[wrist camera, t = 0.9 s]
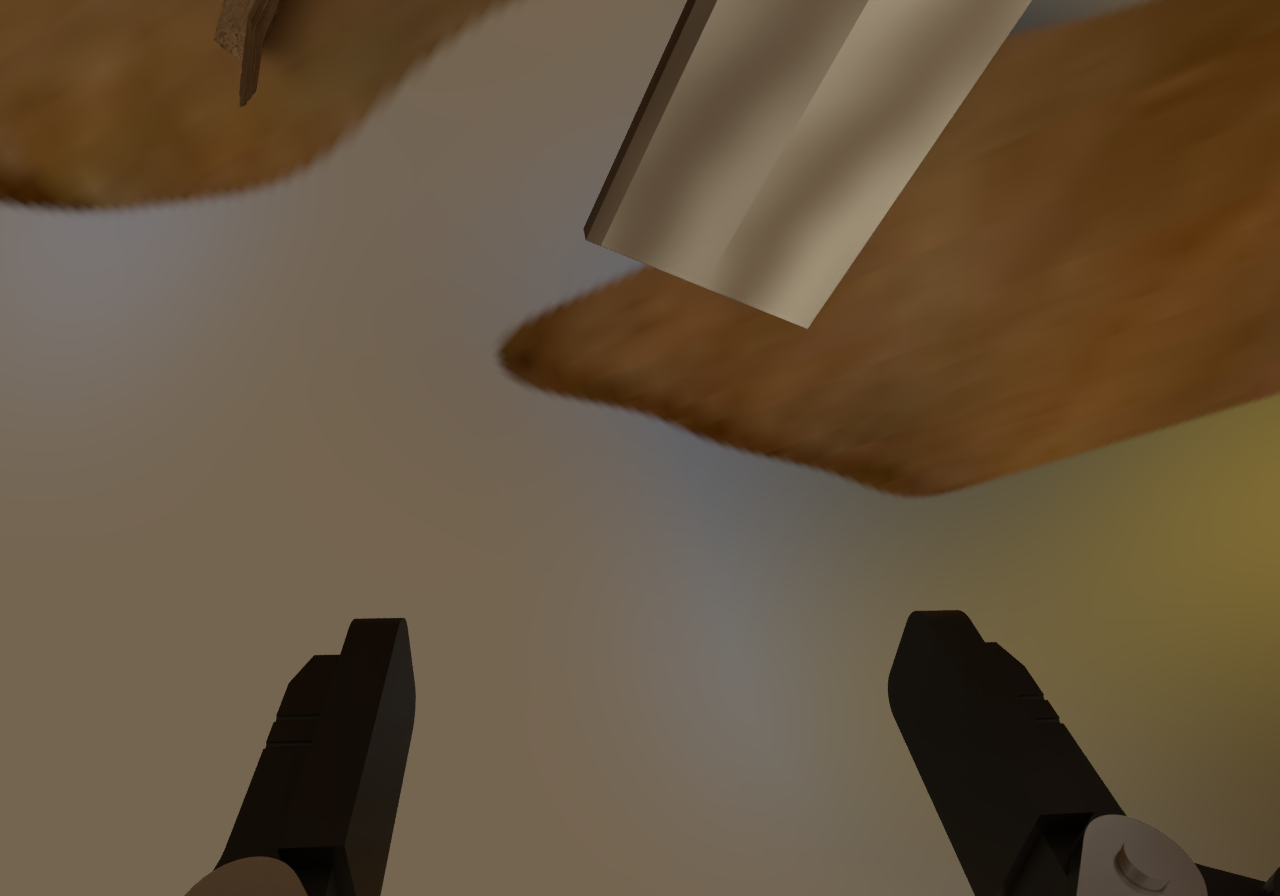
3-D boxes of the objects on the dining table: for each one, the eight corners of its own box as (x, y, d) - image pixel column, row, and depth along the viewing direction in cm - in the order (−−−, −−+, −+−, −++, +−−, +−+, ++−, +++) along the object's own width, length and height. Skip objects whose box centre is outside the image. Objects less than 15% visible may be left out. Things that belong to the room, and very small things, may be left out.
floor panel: (583, 228, 29) (585, 240, 28) (922, -517, 18) (941, -532, 17) (800, 316, 32) (807, 328, 32) (1185, -258, 22) (1210, -261, 21)
